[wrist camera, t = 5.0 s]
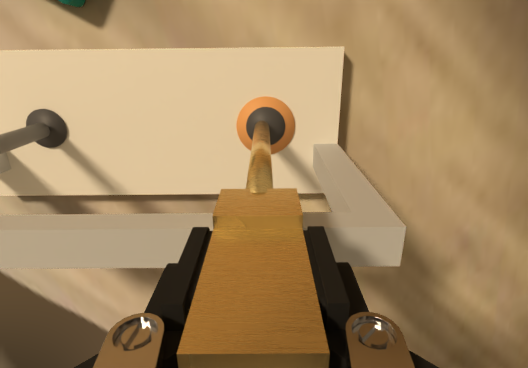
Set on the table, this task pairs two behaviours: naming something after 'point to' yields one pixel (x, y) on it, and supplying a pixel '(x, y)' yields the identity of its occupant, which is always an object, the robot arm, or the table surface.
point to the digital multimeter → (73, 2)
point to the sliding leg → (256, 280)
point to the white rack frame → (174, 148)
